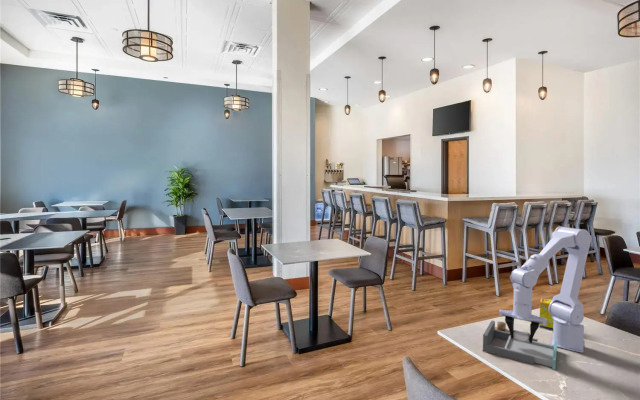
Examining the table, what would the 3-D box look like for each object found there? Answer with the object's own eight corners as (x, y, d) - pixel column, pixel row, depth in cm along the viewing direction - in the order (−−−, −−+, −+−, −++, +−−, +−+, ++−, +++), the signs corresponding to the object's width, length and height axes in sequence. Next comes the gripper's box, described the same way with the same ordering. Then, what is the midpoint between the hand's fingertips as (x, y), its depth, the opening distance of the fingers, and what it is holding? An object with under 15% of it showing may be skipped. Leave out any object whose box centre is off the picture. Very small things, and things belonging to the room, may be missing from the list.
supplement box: (539, 322, 148) (540, 297, 148) (556, 325, 145) (557, 300, 144) (538, 327, 144) (539, 301, 143) (556, 330, 140) (557, 304, 140)
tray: (557, 350, 123) (557, 341, 123) (555, 369, 111) (555, 360, 110) (510, 339, 132) (510, 330, 132) (503, 356, 120) (503, 347, 119)
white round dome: (530, 337, 123) (530, 332, 123) (529, 343, 119) (529, 337, 119) (514, 333, 127) (514, 328, 126) (512, 339, 122) (512, 333, 122)
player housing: (537, 346, 127) (537, 330, 127) (533, 364, 114) (534, 347, 114) (491, 335, 136) (491, 320, 136) (482, 351, 123) (483, 334, 123)
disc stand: (510, 330, 140) (510, 322, 140) (508, 336, 135) (508, 327, 135) (494, 327, 144) (494, 319, 144) (491, 332, 139) (492, 323, 139)
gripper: (498, 301, 123) (497, 338, 124) (546, 310, 115) (544, 349, 115) (501, 296, 129) (500, 331, 130) (547, 304, 120) (546, 342, 121)
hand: (521, 339), depth 123 cm, fingers closed on white round dome, 5 cm apart
